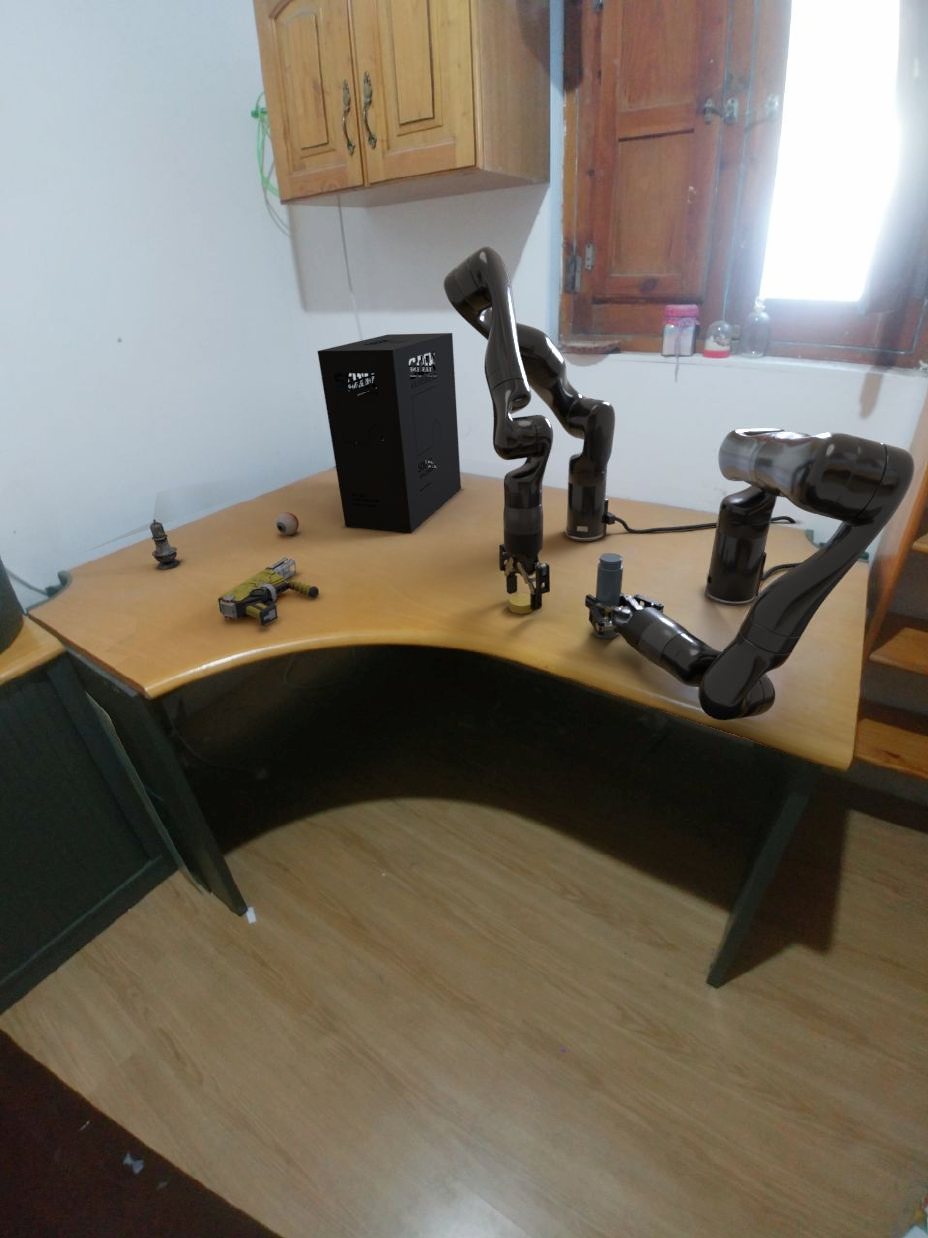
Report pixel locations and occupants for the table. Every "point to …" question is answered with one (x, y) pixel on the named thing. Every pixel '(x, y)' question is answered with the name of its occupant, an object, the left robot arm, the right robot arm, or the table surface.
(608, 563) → the blue grey cylinder
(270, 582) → the toy gun
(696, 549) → the table surface
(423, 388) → the cardboard box
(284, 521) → the eyeball
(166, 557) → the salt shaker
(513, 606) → the lid
